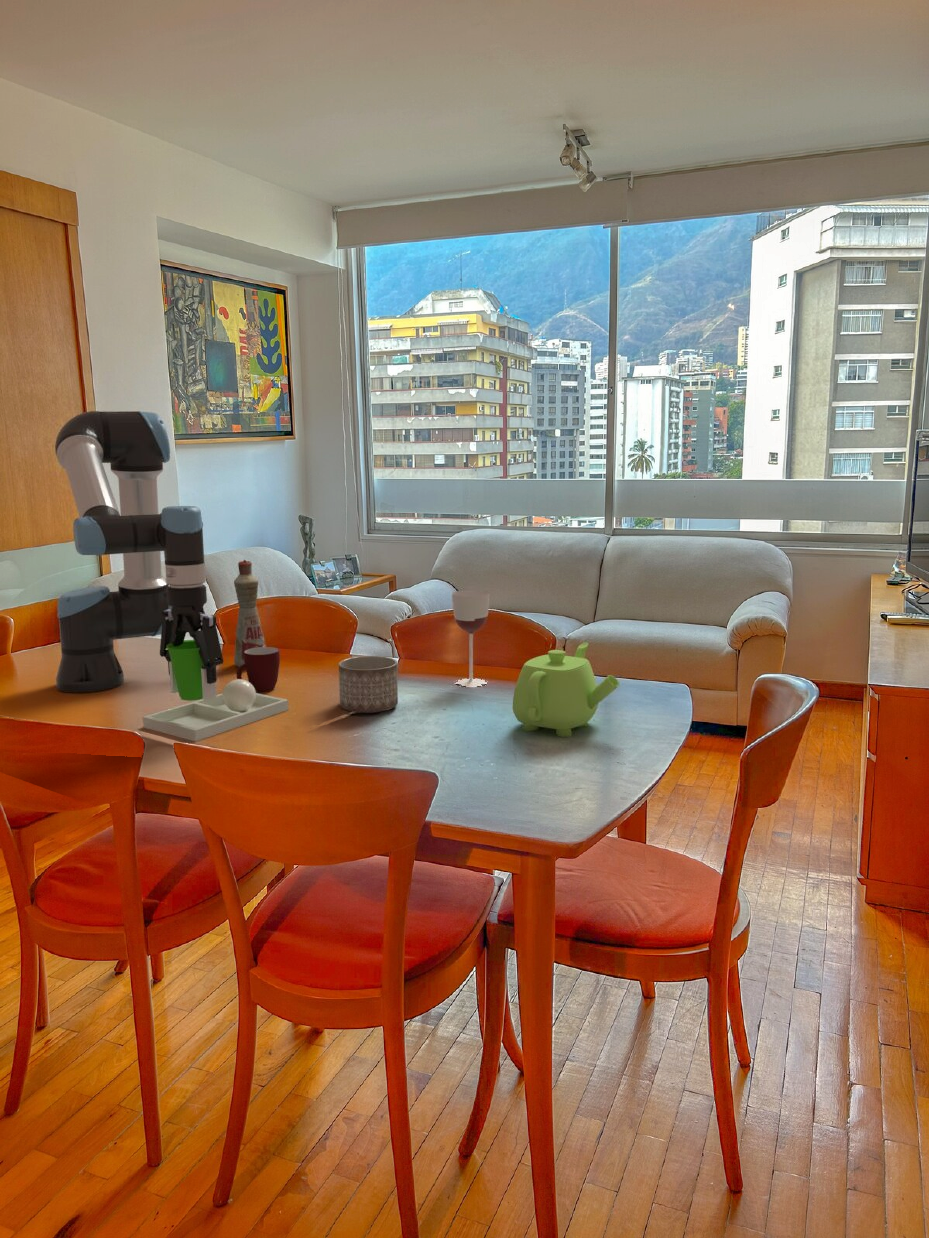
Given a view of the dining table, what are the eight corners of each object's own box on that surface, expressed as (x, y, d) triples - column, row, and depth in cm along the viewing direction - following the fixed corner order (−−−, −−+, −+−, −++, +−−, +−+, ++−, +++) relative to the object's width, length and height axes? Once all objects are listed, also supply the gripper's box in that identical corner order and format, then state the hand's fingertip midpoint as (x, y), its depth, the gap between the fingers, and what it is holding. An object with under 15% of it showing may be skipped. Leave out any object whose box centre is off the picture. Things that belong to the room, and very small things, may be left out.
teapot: (594, 753, 169) (596, 671, 165) (495, 734, 180) (495, 657, 177) (643, 718, 189) (646, 645, 186) (551, 703, 201) (552, 634, 198)
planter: (373, 697, 206) (372, 653, 204) (409, 708, 198) (409, 662, 196) (328, 708, 198) (326, 662, 196) (364, 720, 189) (363, 672, 187)
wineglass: (446, 685, 215) (446, 595, 211) (461, 676, 224) (461, 589, 220) (480, 689, 212) (480, 597, 208) (494, 679, 221) (495, 591, 217)
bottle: (252, 659, 242) (247, 556, 237) (275, 664, 237) (271, 559, 232) (227, 666, 235) (221, 560, 230) (250, 671, 230) (244, 562, 225)
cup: (225, 694, 184) (222, 641, 182) (195, 705, 176) (191, 650, 174) (191, 689, 188) (188, 638, 186) (160, 700, 180) (156, 646, 178)
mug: (251, 701, 203) (249, 658, 201) (230, 695, 208) (227, 653, 206) (288, 691, 211) (286, 650, 209) (266, 685, 216) (264, 645, 214)
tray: (143, 730, 182) (142, 716, 182) (237, 701, 203) (237, 688, 202) (196, 745, 174) (195, 730, 173) (288, 713, 194) (288, 699, 193)
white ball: (216, 712, 192) (214, 680, 191) (241, 704, 198) (239, 673, 196) (238, 717, 188) (237, 685, 187) (263, 709, 194) (262, 678, 193)
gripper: (135, 583, 181) (143, 691, 185) (208, 592, 169) (215, 707, 173) (166, 578, 187) (173, 683, 191) (238, 586, 175) (244, 698, 179)
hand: (193, 694), depth 182 cm, fingers closed on cup, 9 cm apart
